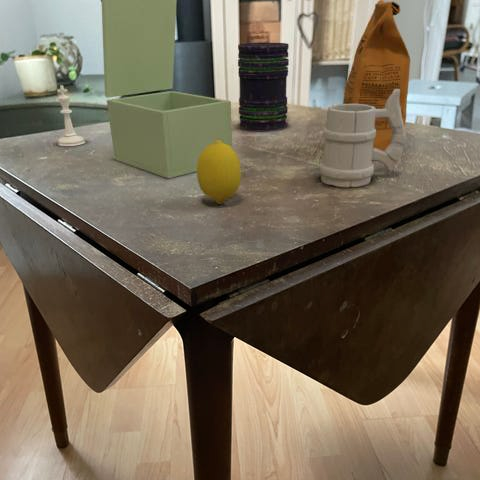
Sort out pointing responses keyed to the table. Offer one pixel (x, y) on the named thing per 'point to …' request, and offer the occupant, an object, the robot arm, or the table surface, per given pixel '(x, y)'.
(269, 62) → the storage jar
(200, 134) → the box
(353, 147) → the mug
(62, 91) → the chess piece
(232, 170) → the lemon
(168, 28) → the lid
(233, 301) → the table surface
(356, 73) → the coffee package
